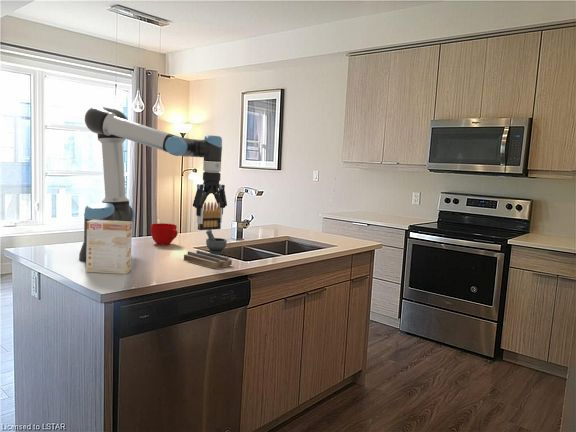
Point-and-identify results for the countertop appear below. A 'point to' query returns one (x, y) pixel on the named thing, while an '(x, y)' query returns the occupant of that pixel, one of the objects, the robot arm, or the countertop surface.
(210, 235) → the mortar and pestle
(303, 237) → the countertop surface
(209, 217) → the ammunition clip
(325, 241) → the countertop surface
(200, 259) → the stick bundle
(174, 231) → the ceramic cup
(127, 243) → the coffeecake box
